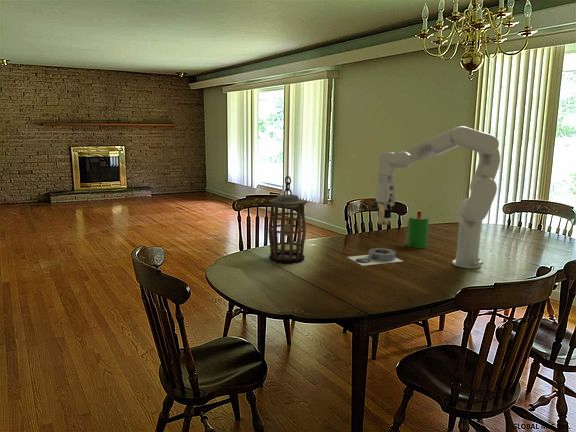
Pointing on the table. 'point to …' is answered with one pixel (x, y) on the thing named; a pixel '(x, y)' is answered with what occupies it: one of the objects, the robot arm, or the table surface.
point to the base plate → (370, 260)
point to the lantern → (287, 228)
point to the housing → (382, 254)
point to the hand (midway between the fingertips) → (384, 216)
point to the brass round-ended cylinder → (382, 215)
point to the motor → (418, 231)
